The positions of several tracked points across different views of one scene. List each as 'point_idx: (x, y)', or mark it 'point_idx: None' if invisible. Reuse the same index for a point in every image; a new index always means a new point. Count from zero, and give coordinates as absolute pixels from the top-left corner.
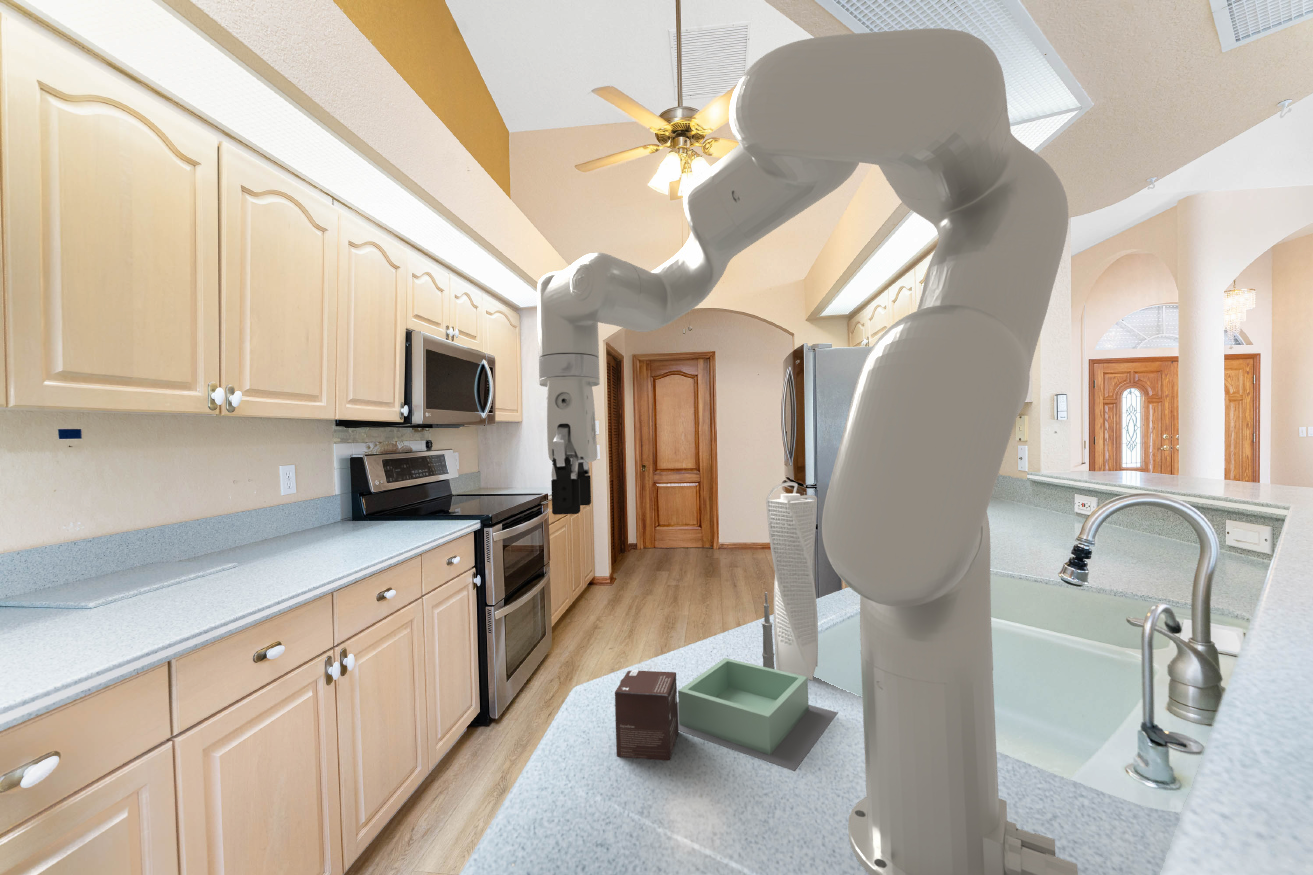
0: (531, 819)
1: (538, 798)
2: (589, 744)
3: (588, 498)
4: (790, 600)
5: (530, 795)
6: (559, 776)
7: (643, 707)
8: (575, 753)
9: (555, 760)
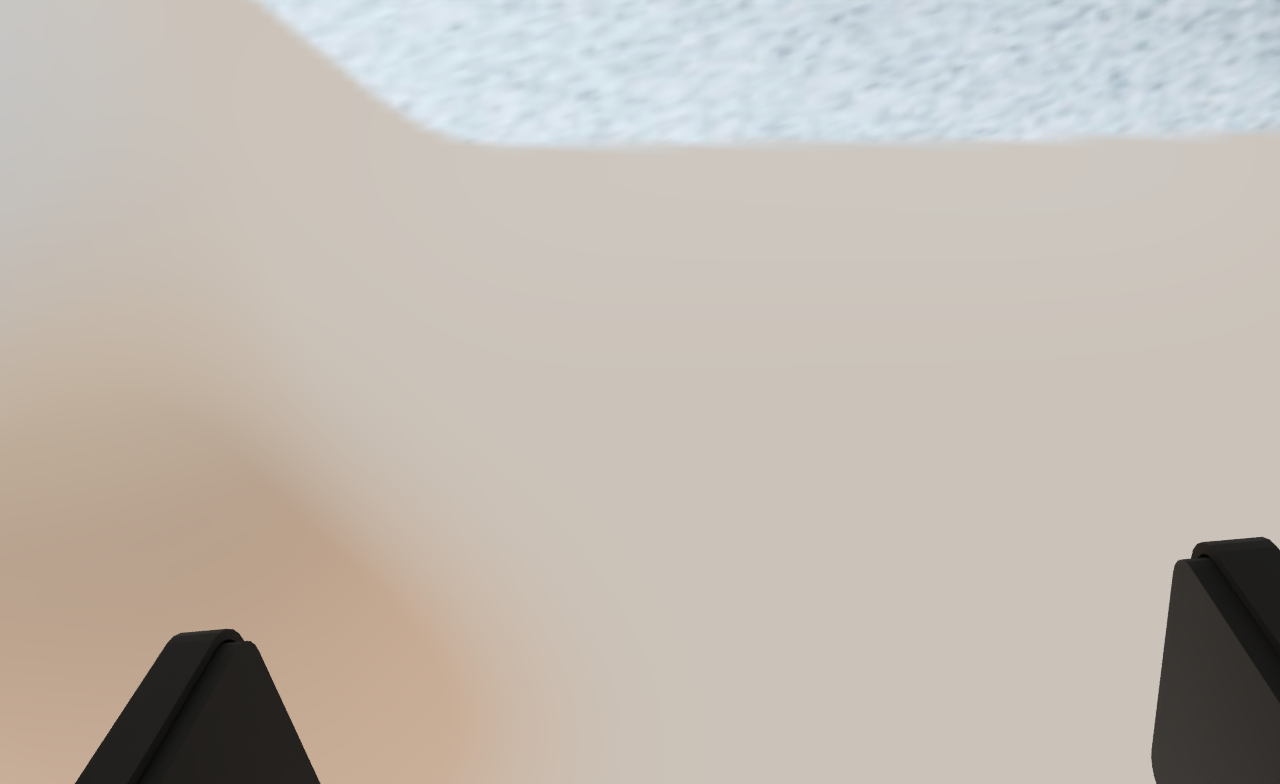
0: (1262, 65)
1: (1166, 80)
2: (871, 4)
3: (218, 696)
4: None
5: (1148, 110)
6: (1059, 52)
7: None
8: (927, 39)
9: (967, 96)
